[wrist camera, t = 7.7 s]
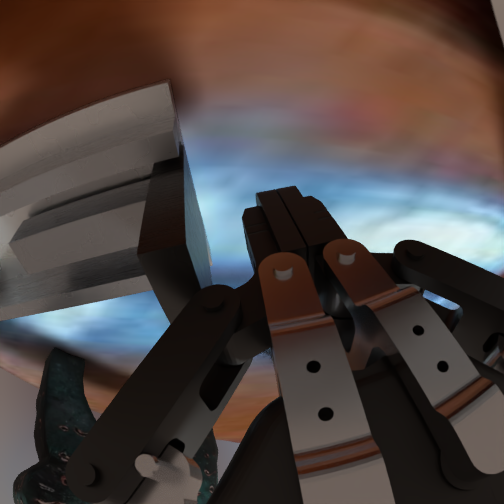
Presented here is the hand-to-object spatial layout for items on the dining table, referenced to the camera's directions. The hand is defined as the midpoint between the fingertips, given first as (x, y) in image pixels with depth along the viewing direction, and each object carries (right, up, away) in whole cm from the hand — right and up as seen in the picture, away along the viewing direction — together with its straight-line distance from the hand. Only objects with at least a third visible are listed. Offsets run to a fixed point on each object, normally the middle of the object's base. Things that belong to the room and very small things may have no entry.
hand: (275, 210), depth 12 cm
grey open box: (-14, 0, +3) cm, 14 cm away
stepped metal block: (-8, 0, +2) cm, 8 cm away
